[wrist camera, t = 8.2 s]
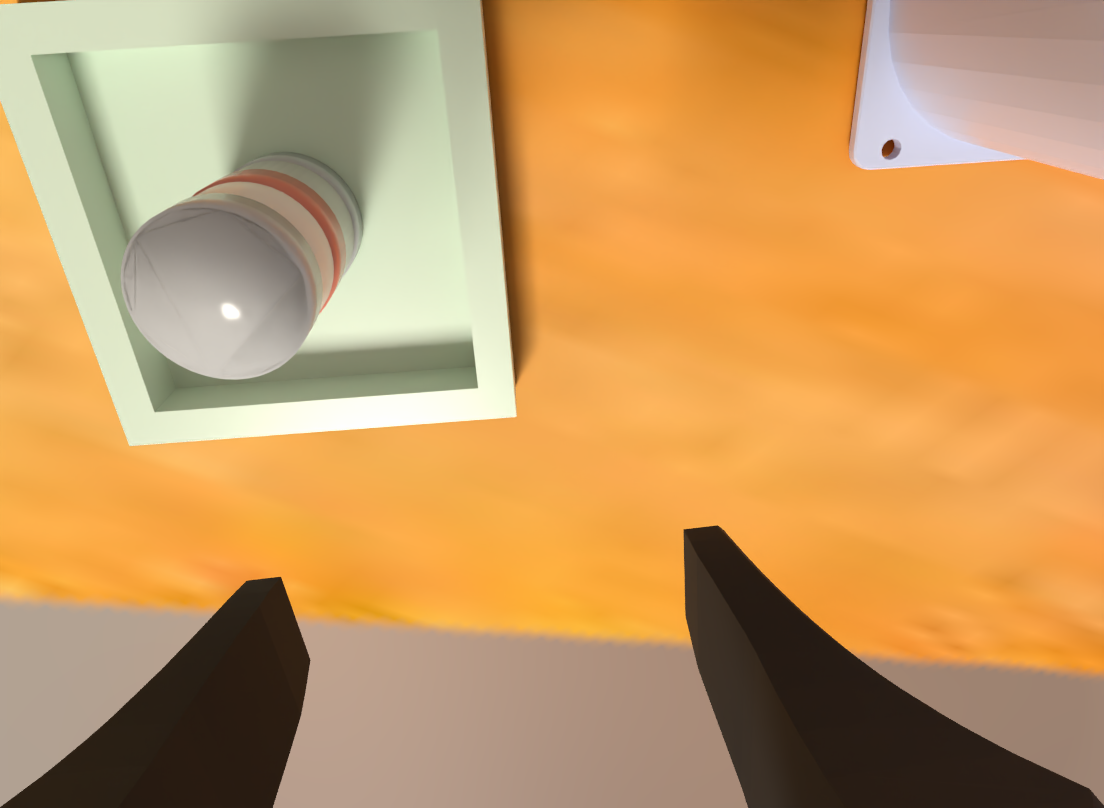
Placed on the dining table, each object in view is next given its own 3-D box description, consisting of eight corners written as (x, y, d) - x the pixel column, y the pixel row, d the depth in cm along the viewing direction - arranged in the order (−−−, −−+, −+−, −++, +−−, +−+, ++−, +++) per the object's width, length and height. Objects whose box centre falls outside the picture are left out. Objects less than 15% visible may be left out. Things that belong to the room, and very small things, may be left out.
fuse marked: (353, 150, 19) (295, 202, 14) (370, 284, 21) (324, 376, 15) (211, 153, 19) (97, 206, 14) (239, 287, 21) (148, 382, 15)
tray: (480, -21, 18) (477, -25, 16) (515, 387, 23) (516, 416, 21) (16, 7, 18) (-35, 6, 16) (157, 414, 23) (129, 445, 21)
